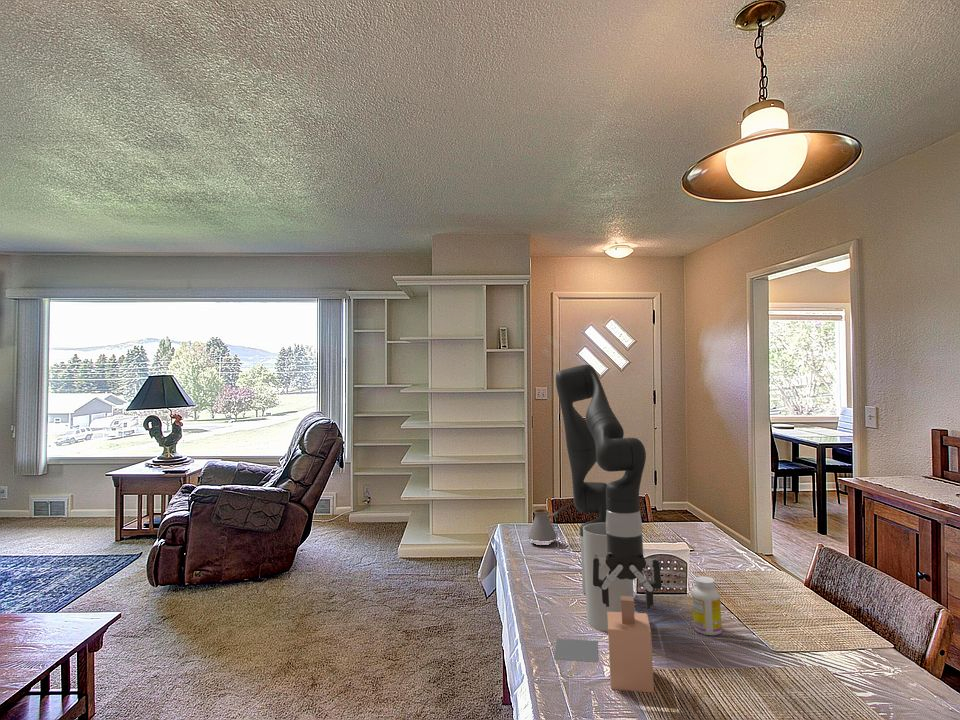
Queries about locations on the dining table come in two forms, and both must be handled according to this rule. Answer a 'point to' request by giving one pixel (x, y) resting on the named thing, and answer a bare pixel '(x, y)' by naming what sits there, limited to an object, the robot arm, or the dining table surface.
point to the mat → (576, 650)
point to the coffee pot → (544, 525)
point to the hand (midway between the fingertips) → (627, 606)
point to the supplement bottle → (706, 607)
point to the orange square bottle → (630, 649)
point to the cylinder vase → (619, 587)
